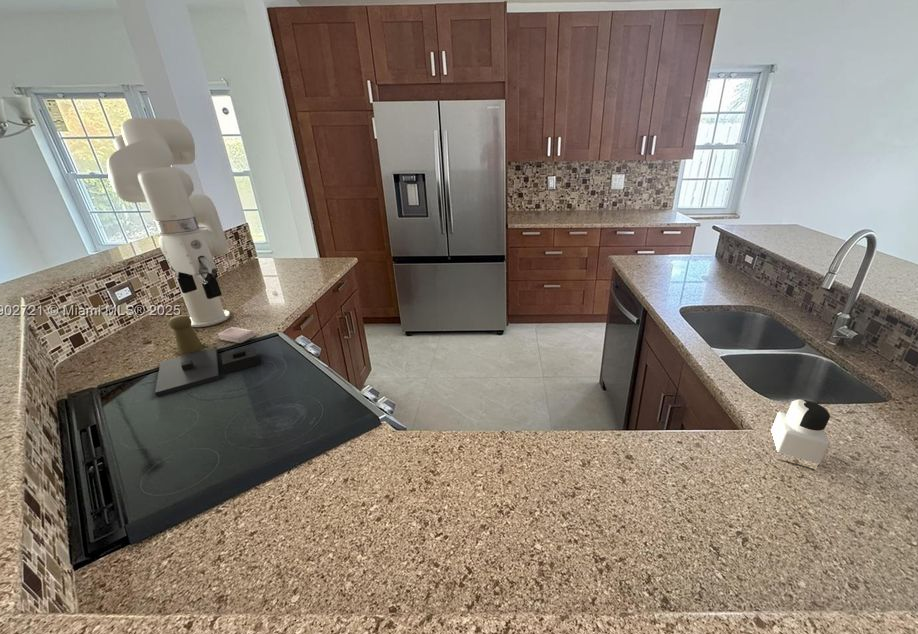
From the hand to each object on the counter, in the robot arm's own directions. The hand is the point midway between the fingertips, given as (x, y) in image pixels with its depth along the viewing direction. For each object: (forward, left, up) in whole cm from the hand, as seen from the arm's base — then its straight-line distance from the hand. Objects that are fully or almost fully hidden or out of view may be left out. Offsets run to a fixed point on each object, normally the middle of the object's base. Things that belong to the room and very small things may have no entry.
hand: (202, 294), depth 93 cm
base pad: (-6, -9, -23) cm, 25 cm away
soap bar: (-21, +3, -23) cm, 31 cm away
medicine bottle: (+104, +92, -23) cm, 141 cm away
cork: (-21, -9, -23) cm, 32 cm away
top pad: (-2, +3, -23) cm, 23 cm away
